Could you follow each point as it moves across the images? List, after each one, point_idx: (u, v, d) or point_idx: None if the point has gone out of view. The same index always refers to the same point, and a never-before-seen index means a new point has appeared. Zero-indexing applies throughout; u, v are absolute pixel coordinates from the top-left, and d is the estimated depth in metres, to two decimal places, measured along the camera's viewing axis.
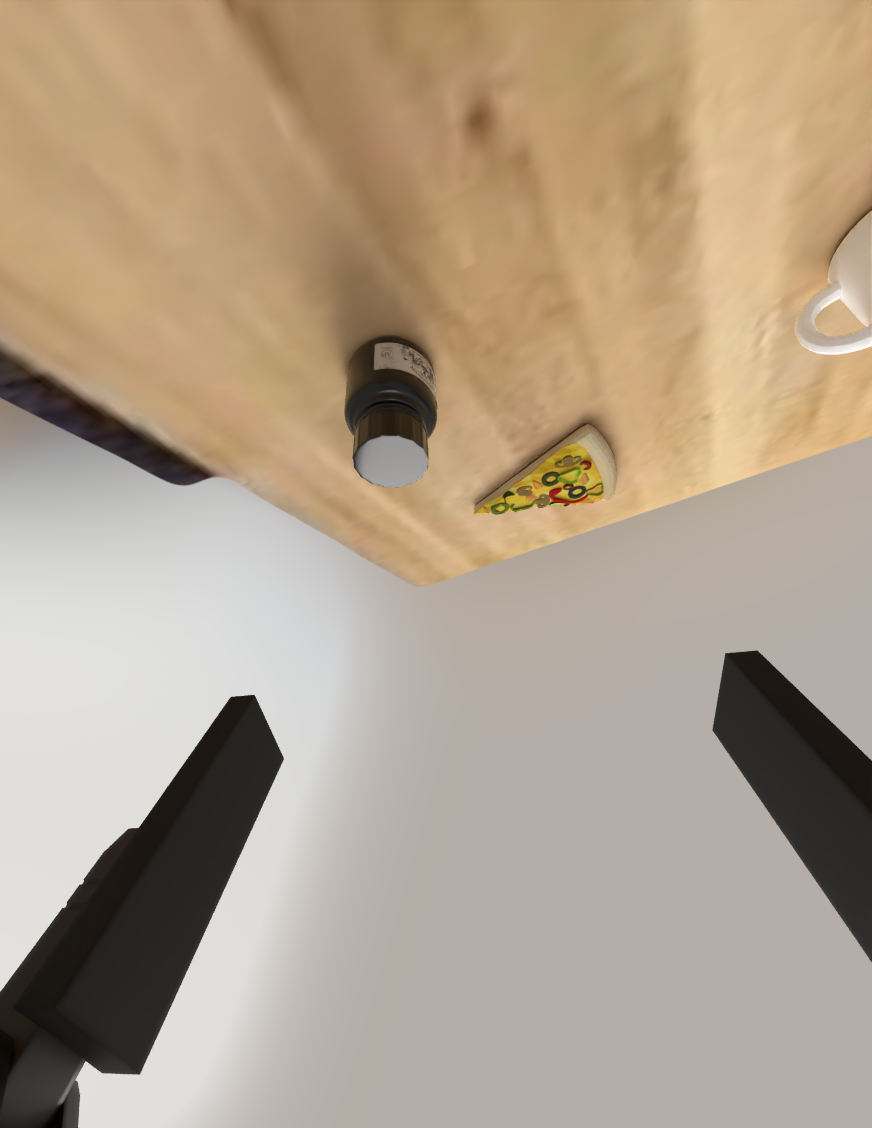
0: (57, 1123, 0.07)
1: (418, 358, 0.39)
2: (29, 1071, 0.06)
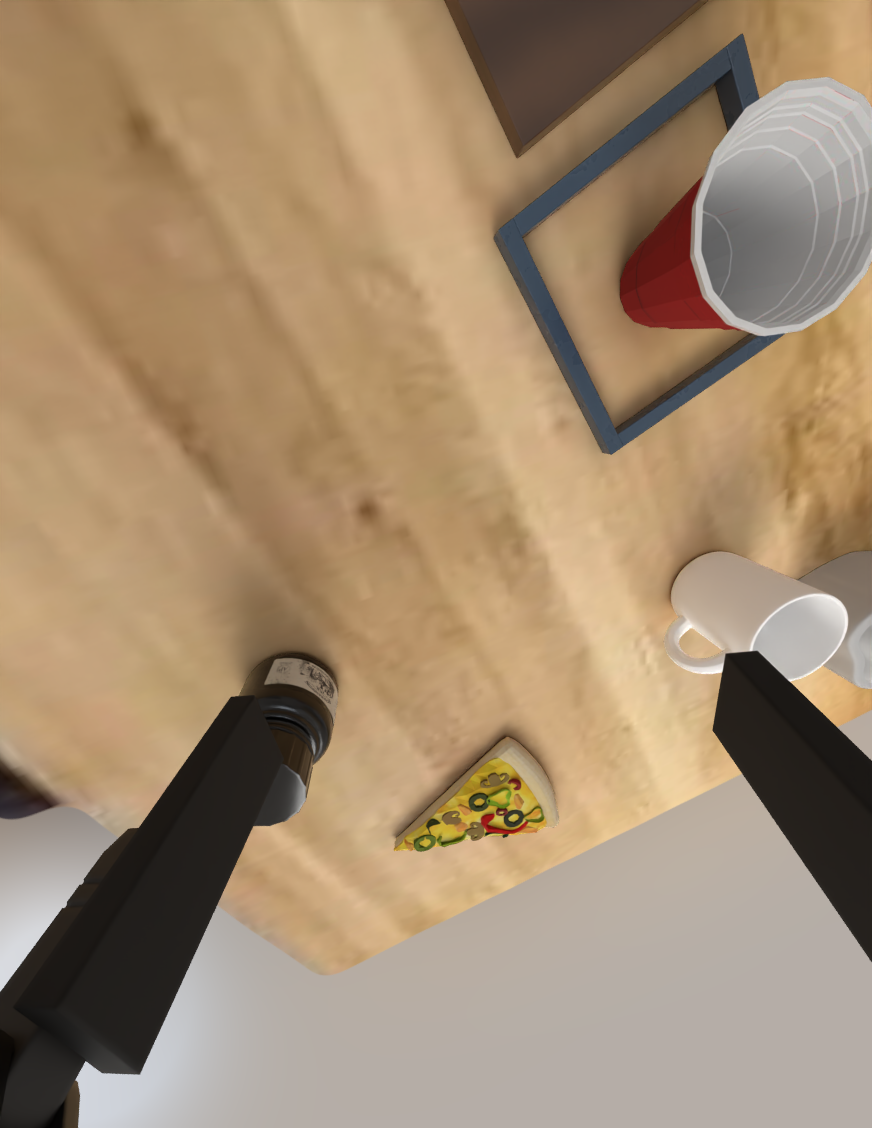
0: (57, 1123, 0.07)
1: (318, 672, 0.38)
2: (29, 1071, 0.06)
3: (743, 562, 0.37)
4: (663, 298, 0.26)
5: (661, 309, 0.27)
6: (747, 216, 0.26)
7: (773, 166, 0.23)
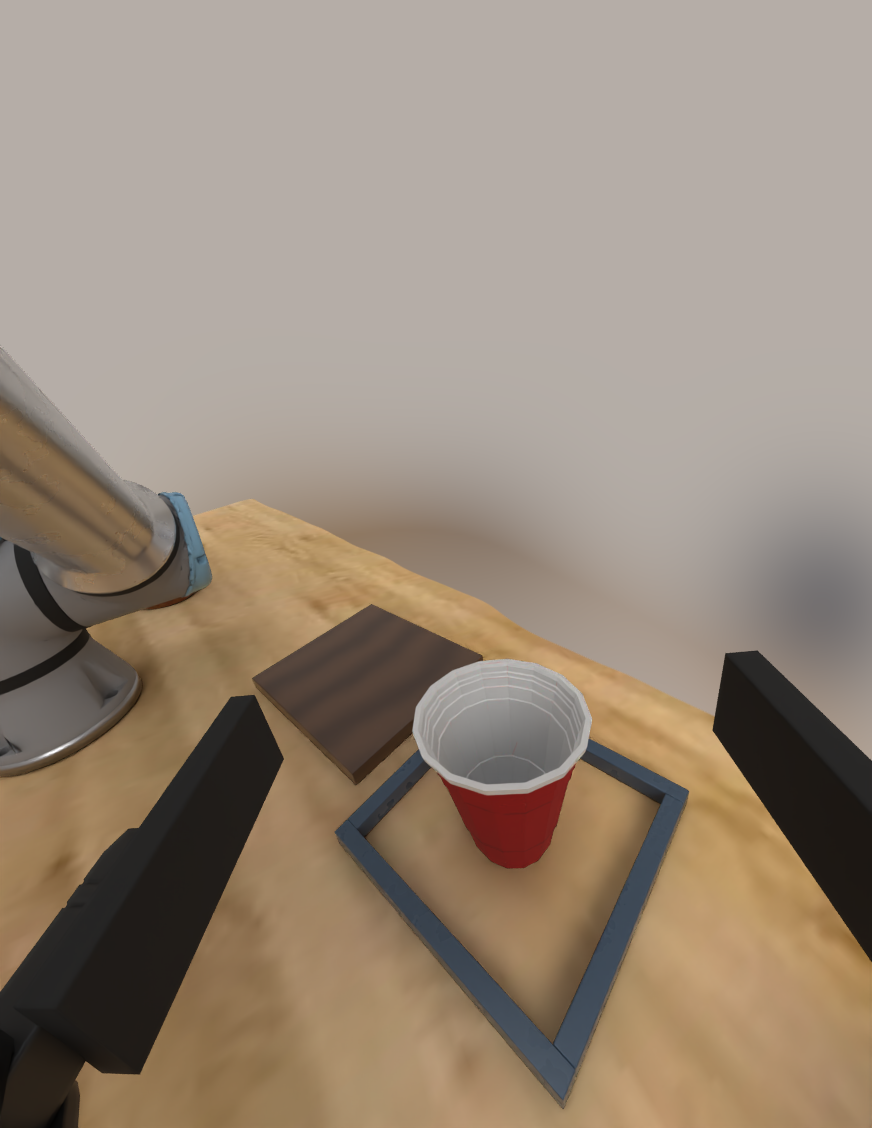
0: (57, 1123, 0.07)
1: None
2: (29, 1071, 0.06)
3: None
4: (468, 816, 0.25)
5: (481, 829, 0.25)
6: (526, 743, 0.31)
7: (503, 708, 0.30)
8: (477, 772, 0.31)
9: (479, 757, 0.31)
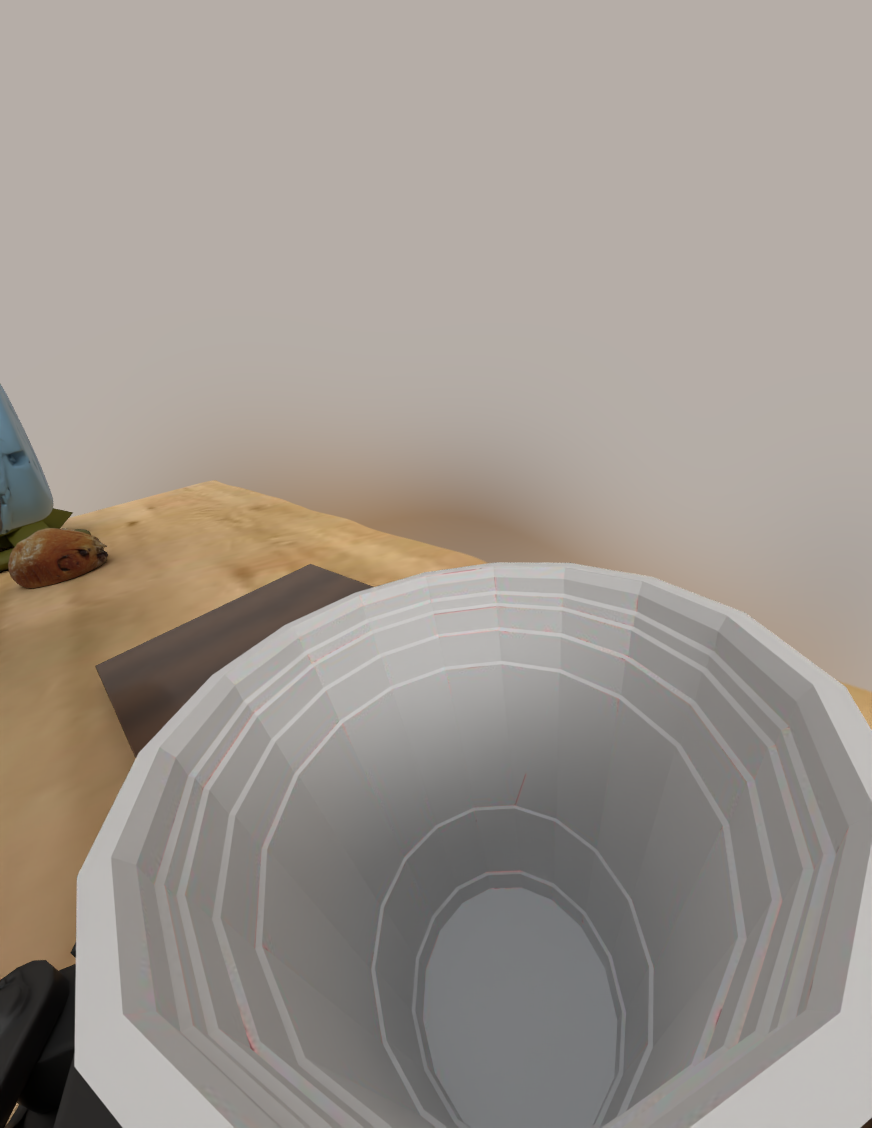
0: None
1: None
2: None
3: None
4: None
5: None
6: (550, 777, 0.12)
7: (487, 689, 0.12)
8: (432, 850, 0.13)
9: (435, 812, 0.13)
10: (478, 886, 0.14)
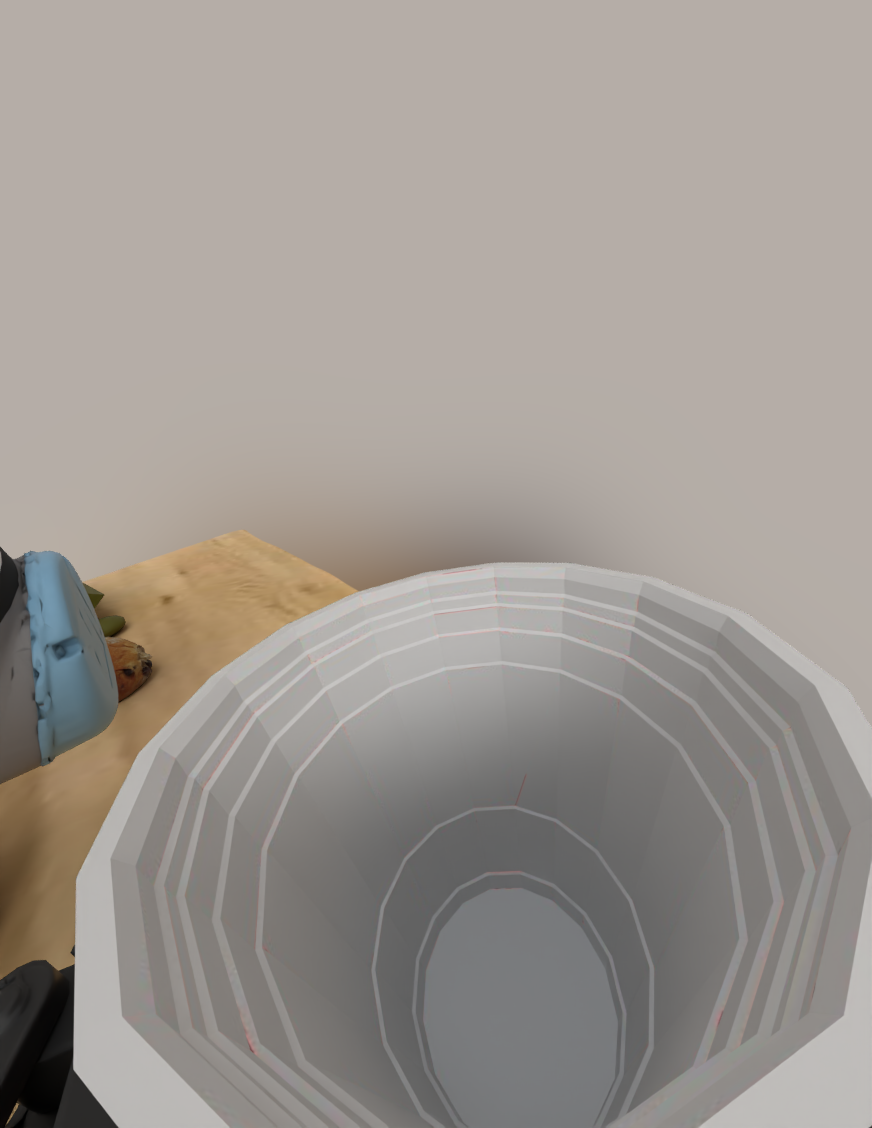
0: None
1: None
2: None
3: None
4: None
5: None
6: (550, 778, 0.12)
7: (488, 690, 0.12)
8: (432, 850, 0.13)
9: (435, 813, 0.13)
10: (478, 887, 0.14)
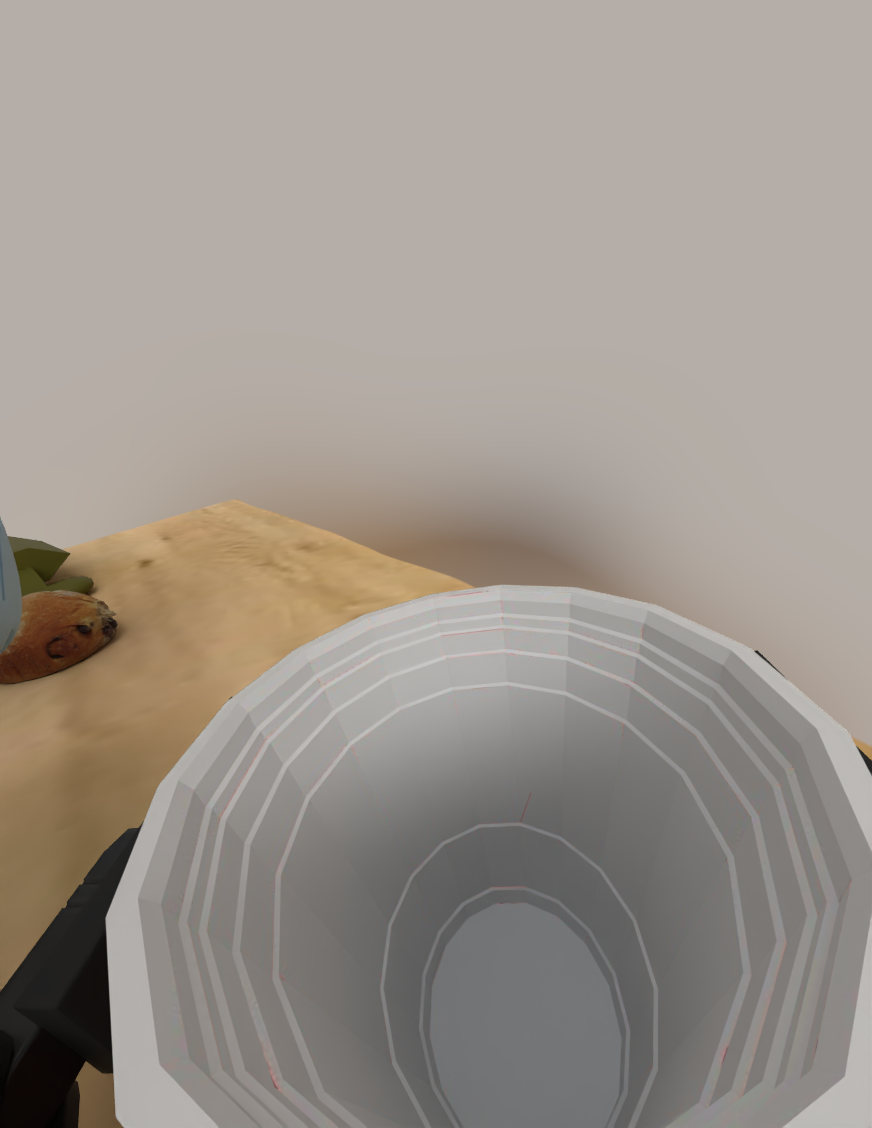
0: (57, 1123, 0.07)
1: None
2: (29, 1071, 0.06)
3: None
4: None
5: None
6: (555, 796, 0.12)
7: (493, 709, 0.12)
8: (438, 866, 0.13)
9: (441, 830, 0.13)
10: (483, 901, 0.14)
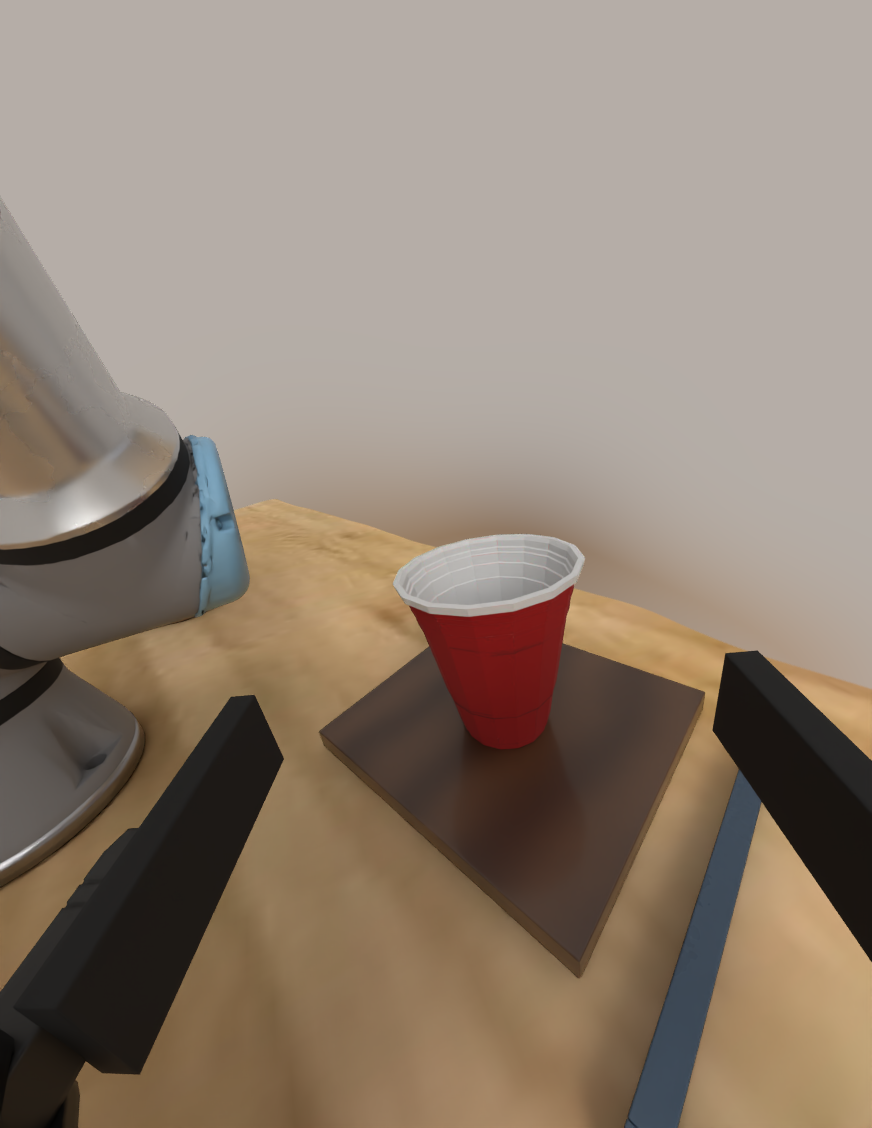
0: (57, 1123, 0.07)
1: None
2: (29, 1071, 0.06)
3: None
4: (455, 674, 0.23)
5: (468, 689, 0.23)
6: None
7: (493, 588, 0.29)
8: None
9: None
10: None
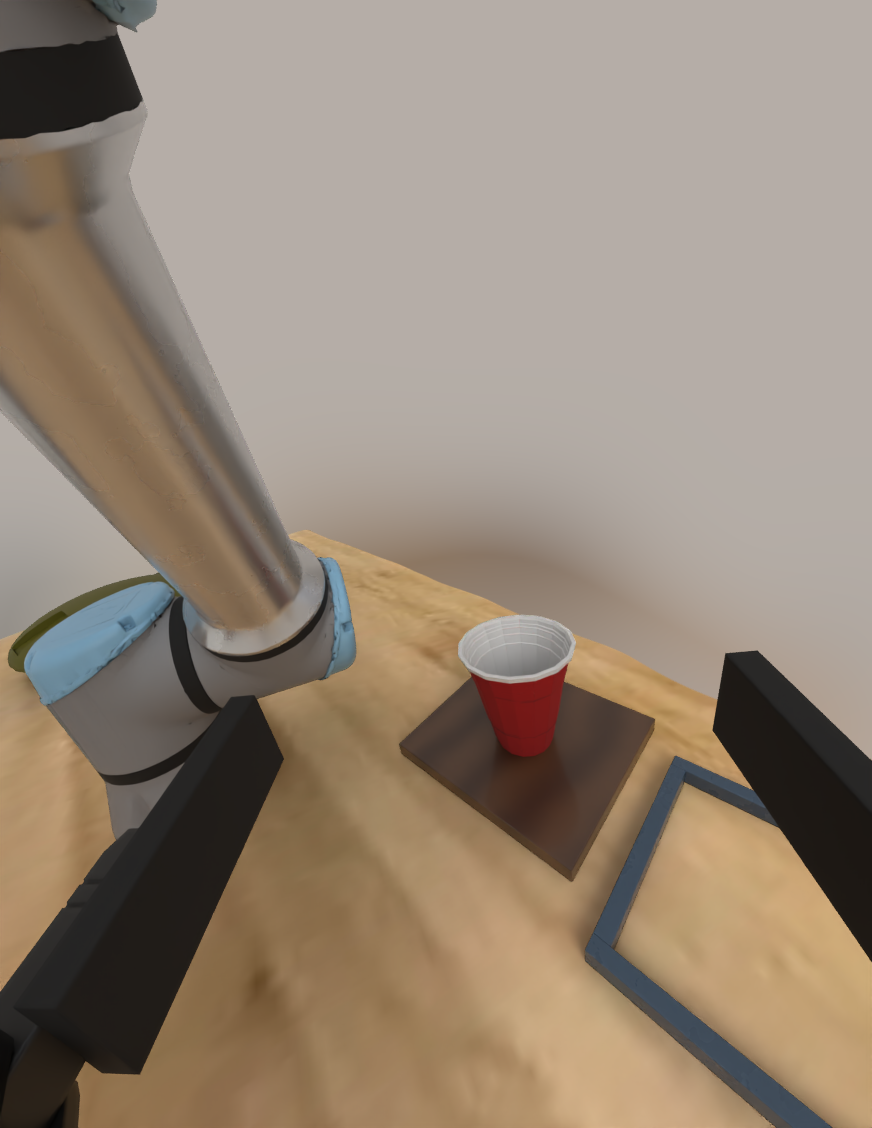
0: (57, 1123, 0.07)
1: None
2: (29, 1071, 0.06)
3: None
4: (496, 711, 0.38)
5: (505, 720, 0.38)
6: None
7: (517, 650, 0.43)
8: None
9: None
10: None
